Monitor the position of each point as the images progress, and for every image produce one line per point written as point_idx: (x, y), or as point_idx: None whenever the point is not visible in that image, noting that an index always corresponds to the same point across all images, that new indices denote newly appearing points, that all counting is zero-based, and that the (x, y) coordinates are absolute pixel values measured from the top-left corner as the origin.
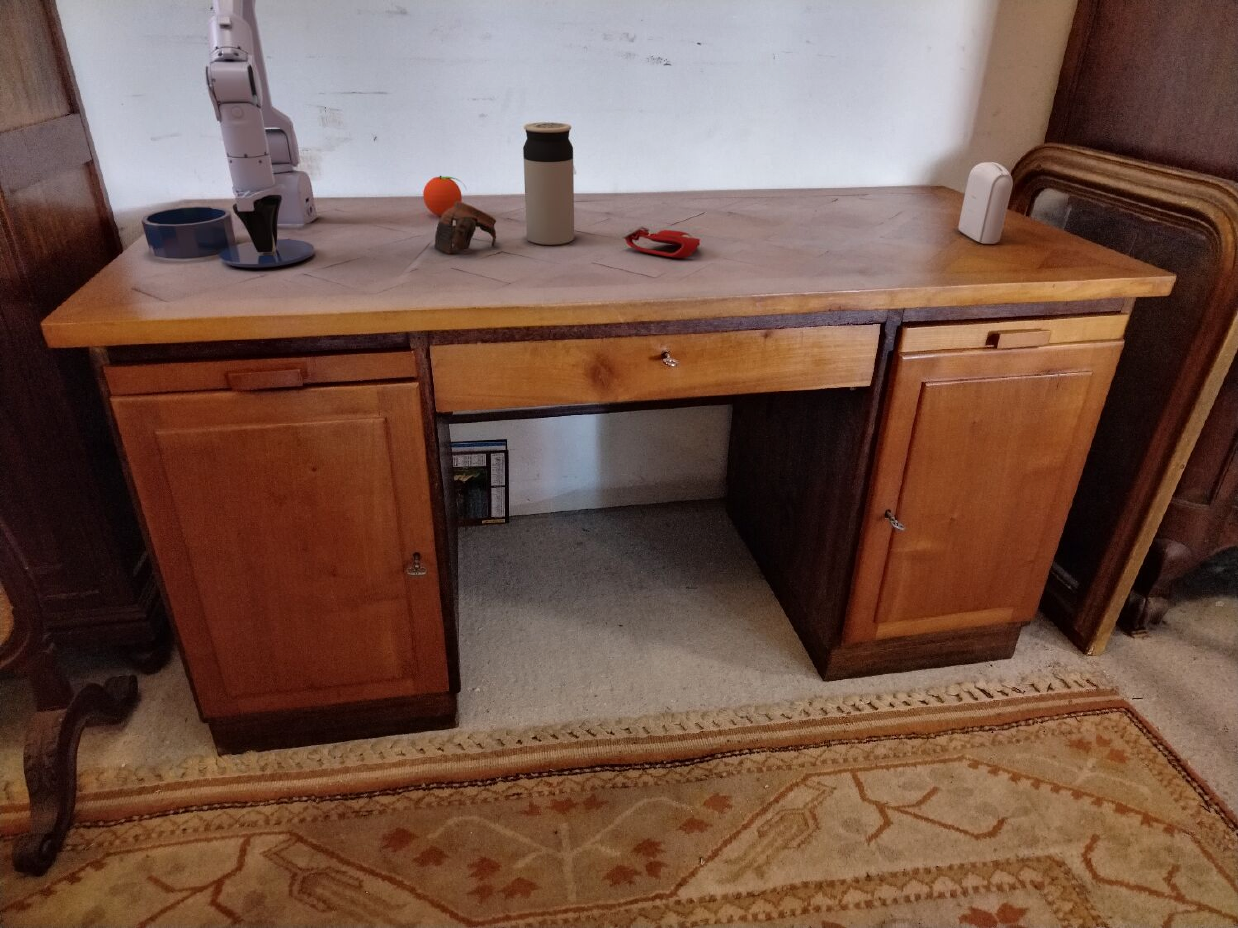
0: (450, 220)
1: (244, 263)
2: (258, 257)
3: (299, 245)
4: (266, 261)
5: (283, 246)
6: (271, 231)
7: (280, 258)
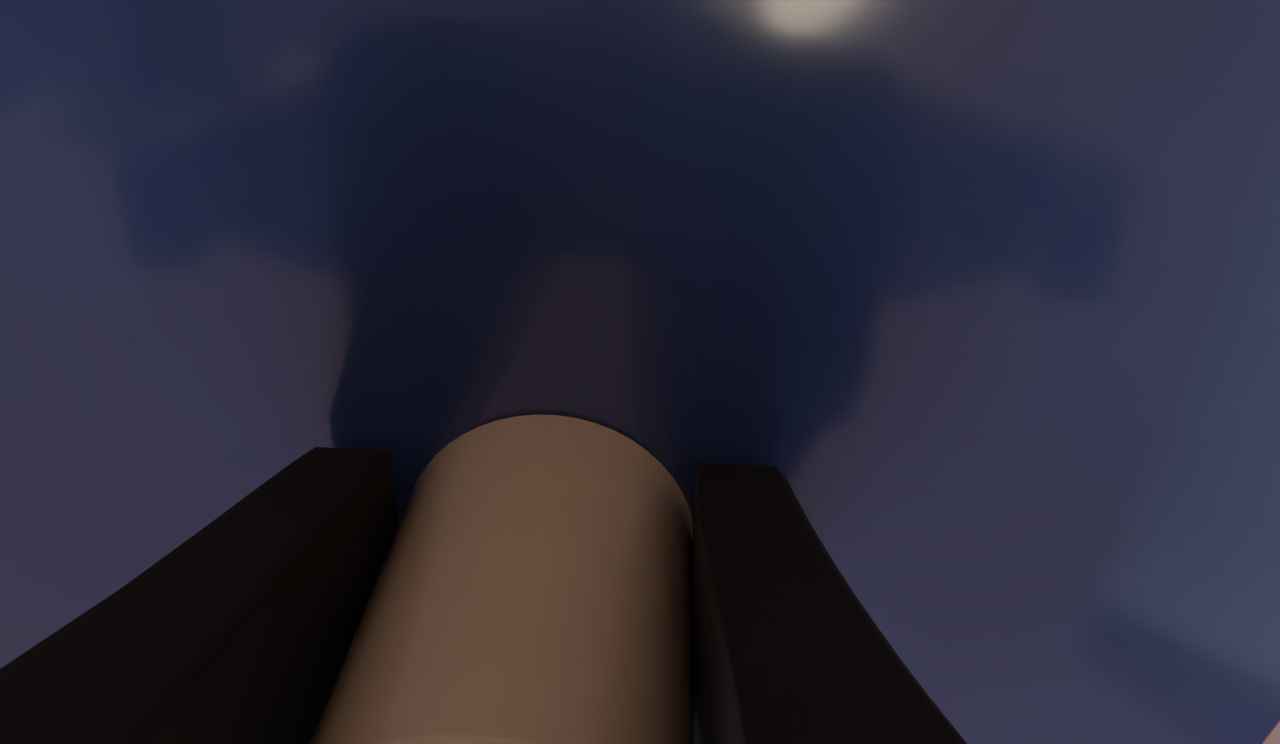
0: None
1: (1244, 740)
2: (946, 611)
3: (136, 8)
4: (1252, 464)
5: (238, 325)
6: (856, 703)
7: (1121, 254)
